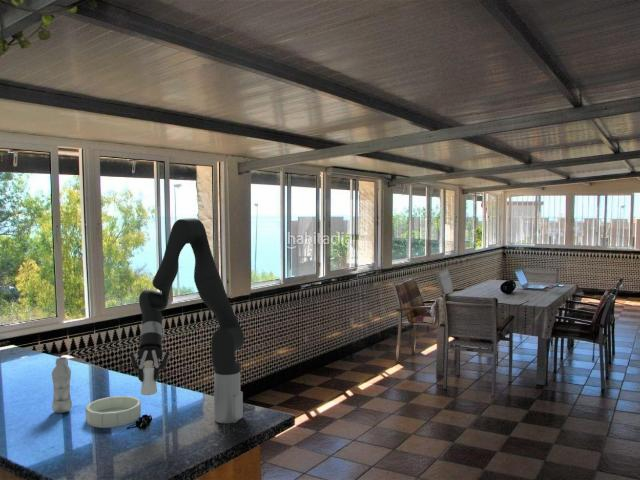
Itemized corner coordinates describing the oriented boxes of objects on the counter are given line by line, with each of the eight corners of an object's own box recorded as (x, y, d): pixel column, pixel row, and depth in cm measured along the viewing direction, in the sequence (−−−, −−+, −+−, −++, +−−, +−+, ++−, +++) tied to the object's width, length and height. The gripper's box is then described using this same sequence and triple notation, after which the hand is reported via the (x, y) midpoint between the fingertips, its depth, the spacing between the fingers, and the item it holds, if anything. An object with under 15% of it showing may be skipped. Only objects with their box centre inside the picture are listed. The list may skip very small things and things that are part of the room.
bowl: (150, 412, 197) (150, 399, 197) (118, 430, 180) (118, 416, 180) (109, 407, 203) (109, 394, 203) (74, 424, 186) (74, 410, 185)
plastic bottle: (64, 416, 193) (63, 361, 192) (47, 414, 195) (47, 360, 194) (75, 409, 199) (75, 356, 199) (59, 408, 201) (59, 355, 200)
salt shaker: (160, 391, 185) (160, 360, 184) (149, 396, 180) (149, 364, 179) (148, 389, 187) (148, 358, 186) (137, 394, 182) (136, 362, 182)
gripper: (129, 332, 188) (125, 376, 177) (171, 330, 191) (169, 373, 180) (131, 343, 194) (127, 387, 182) (172, 341, 197) (170, 384, 185)
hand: (148, 380), depth 181 cm, fingers closed on salt shaker, 4 cm apart
